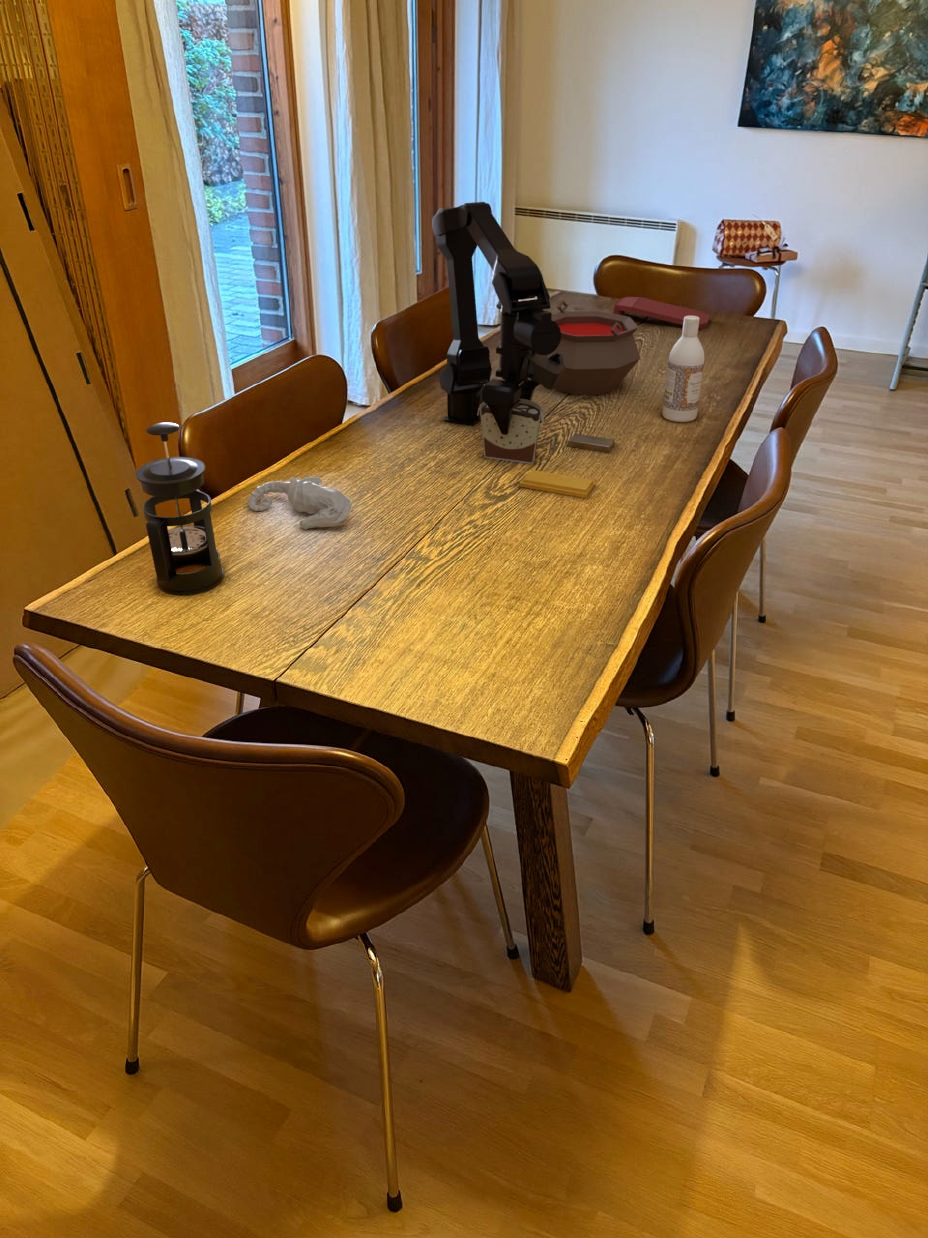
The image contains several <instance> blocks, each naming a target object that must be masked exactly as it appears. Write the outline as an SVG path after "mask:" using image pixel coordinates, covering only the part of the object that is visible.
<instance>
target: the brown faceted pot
mask: <svg viewBox="0 0 928 1238" xmlns="http://www.w3.org/2000/svg"><path fill="white" fill-rule="evenodd" d="M562 306H564V307H563V308H562ZM556 308H557V310H558V312H555V313H553V314H552V318H551V320H552V321H554V322H556V323H557V324H558V326H559V328H560V331H561V341H560V343H559V345H558V347H557V349H556V350H555V351H554V352H552V353H551V354H548V355H546V356H547V358H549V357H550V356H552V355H553V354H554V353H555V352H558V353H560V354H562V355H563V364H564V365H565V367H564V368H565V372H564V373H563V374H562V376H561V378H560V381H559V383H558V385H556V386H555V387H554V389H555V390H556V391H560V392H564V393H567V394H570V395H574V396H597V395H600V396H602V395H604V394H606V393H608V392H610V391H613V390H615V389H616V388H617V387H618V386H619V385H620V384H621V383H622V381H623V380H624V379H625V378H626V377H627V376H628V374H629V373H630V372H631V371H632V370H633V369H634V367H635V366H636V365H637V364H638V362H639V361H640V360H641V359H642V358H641V355H640V352H639V349H638V346H637V343H636V340H635V337H634V334H635V333H636V331H637V330H638V329H639V326H638V324H637V323H636V322H635V321H634V319H633V318H632V317H631V316H627V315H623V316H622V315H617V314H613V312H612V313H611V312H607V311H601V310H572V311H571V310H570V311H569V310H568V311H567V308H569V304H568V303H567V302H566V301H565V300H564V299H562V300H561V301H560V302H559V304H558V305H557V306H556ZM541 356H545V355H541Z"/></svg>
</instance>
